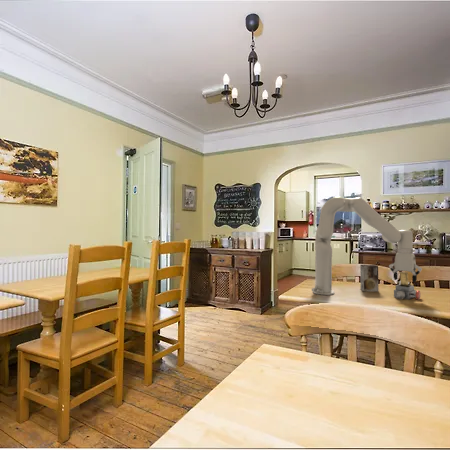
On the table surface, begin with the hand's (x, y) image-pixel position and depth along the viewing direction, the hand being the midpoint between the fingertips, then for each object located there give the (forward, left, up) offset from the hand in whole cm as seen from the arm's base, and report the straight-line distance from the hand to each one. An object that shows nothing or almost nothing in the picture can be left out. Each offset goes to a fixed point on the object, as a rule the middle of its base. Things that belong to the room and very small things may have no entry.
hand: (404, 280), depth 176 cm
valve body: (0, -2, -10) cm, 10 cm away
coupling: (0, 0, -5) cm, 5 cm away
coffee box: (+1, +21, -9) cm, 23 cm away
